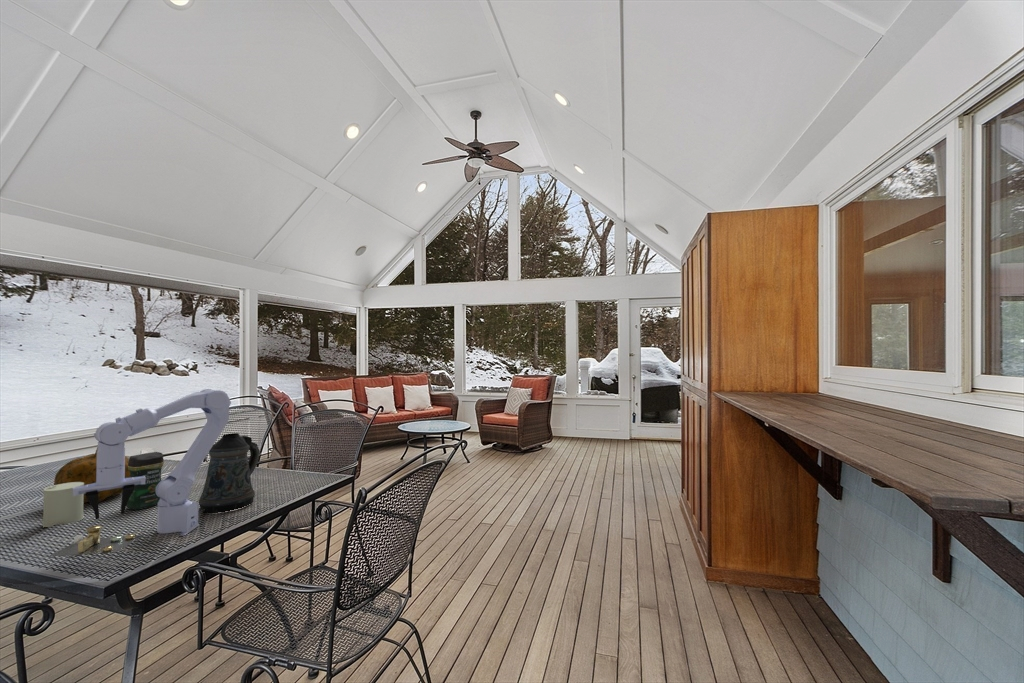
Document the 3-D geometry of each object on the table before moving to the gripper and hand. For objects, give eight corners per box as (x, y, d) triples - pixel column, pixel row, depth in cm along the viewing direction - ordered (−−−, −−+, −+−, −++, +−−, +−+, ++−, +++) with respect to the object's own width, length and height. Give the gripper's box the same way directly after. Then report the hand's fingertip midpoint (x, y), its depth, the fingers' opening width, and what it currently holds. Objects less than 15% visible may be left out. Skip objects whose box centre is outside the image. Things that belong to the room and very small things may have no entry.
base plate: (144, 539, 124) (144, 528, 124) (116, 556, 113) (116, 544, 113) (81, 543, 121) (82, 531, 121) (47, 561, 111) (47, 548, 111)
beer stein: (188, 516, 141) (189, 440, 141) (216, 496, 160) (217, 430, 160) (243, 512, 144) (244, 438, 145) (264, 493, 163) (265, 428, 164)
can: (45, 521, 137) (46, 484, 137) (85, 514, 143) (86, 478, 143) (39, 530, 130) (40, 491, 130) (81, 522, 136) (82, 485, 136)
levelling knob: (90, 541, 119) (90, 526, 119) (104, 540, 120) (104, 524, 120) (73, 553, 112) (73, 536, 112) (87, 551, 113) (87, 535, 113)
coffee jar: (133, 512, 145) (134, 457, 145) (122, 508, 148) (123, 455, 149) (167, 503, 153) (167, 451, 154) (156, 499, 157) (156, 449, 157)
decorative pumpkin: (54, 496, 158) (62, 442, 159) (130, 489, 172) (136, 439, 173) (45, 514, 143) (54, 454, 144) (129, 504, 157) (136, 450, 158)
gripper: (144, 458, 125) (143, 505, 125) (73, 468, 115) (72, 519, 115) (146, 463, 121) (145, 511, 120) (73, 473, 110) (72, 526, 110)
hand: (110, 515), depth 117 cm, fingers open, 4 cm apart
